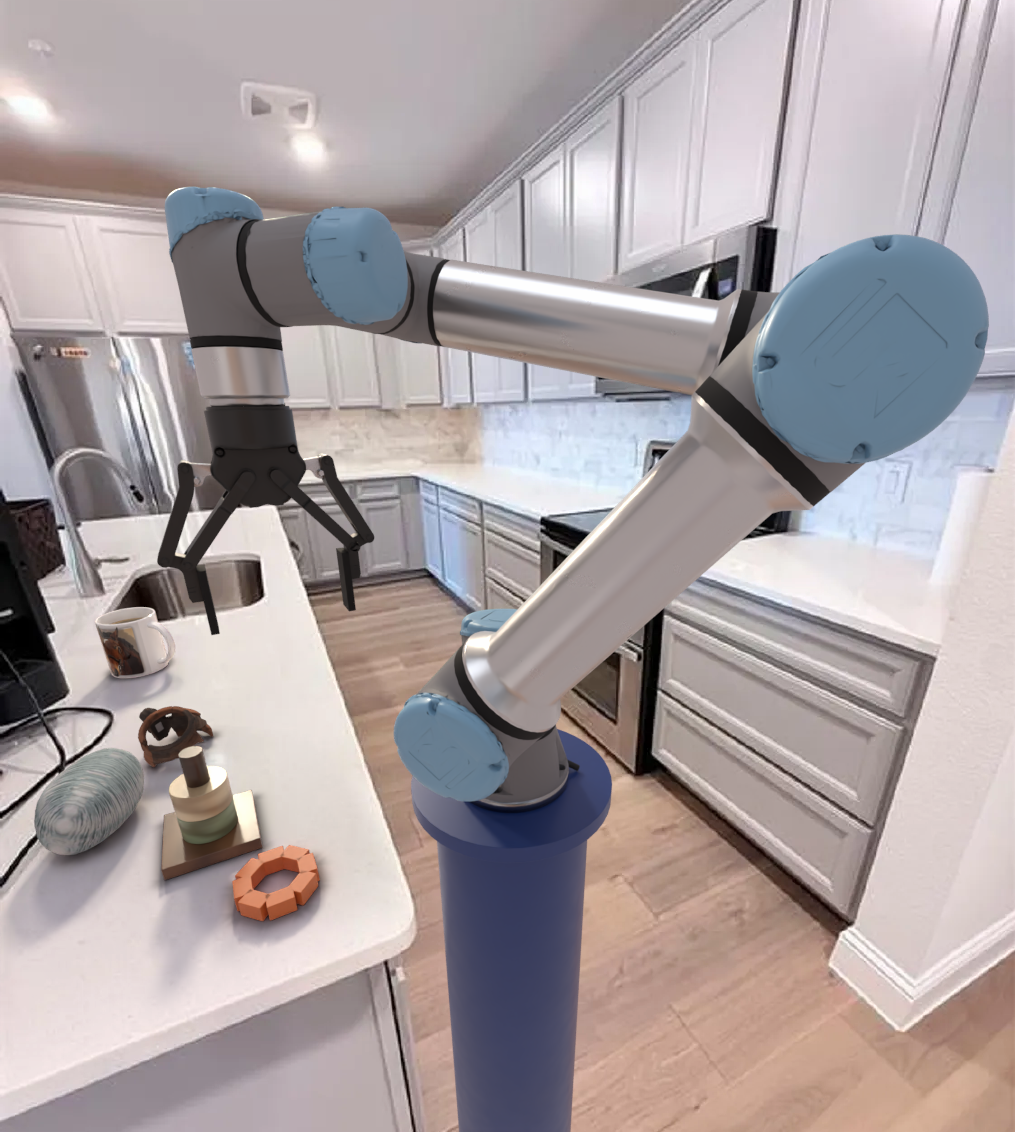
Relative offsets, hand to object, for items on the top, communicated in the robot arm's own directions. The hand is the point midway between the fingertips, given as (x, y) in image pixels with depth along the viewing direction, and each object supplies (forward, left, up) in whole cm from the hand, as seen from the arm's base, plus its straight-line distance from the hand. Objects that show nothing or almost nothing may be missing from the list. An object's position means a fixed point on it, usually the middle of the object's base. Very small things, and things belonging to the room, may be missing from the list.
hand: (285, 618), depth 59 cm
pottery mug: (+16, -26, -27) cm, 41 cm away
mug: (+22, -61, -27) cm, 70 cm away
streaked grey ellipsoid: (+24, -12, -27) cm, 38 cm away
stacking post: (+12, -3, -27) cm, 29 cm away
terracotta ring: (+6, +9, -27) cm, 29 cm away
